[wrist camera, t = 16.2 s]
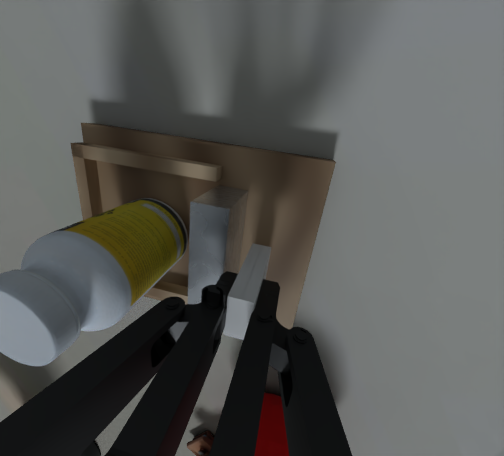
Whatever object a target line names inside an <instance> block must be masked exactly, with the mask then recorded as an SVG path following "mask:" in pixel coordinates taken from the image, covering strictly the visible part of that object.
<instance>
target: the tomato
mask: <svg viewBox="0 0 504 456" xmlns="http://www.w3.org/2000/svg"><path fill="white" fill-rule="evenodd" d="M254 456H289V450H288V443H287V436H286V428H285V421H284V414H283V407H282V400H281V396H278V395H275V394H271V393H264V398H263V404H262V411H261V417H260V423H259V430H258V436H257V443H256V449H255V455H254Z"/></svg>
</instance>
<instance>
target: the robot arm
mask: <svg viewBox="0 0 504 456" xmlns="http://www.w3.org/2000/svg"><path fill="white" fill-rule="evenodd" d="M270 252H271V247H268V246H263V245H258V244H254V243H253V244H252V246H251V248H250V250H249V252H248V254H247V256H246V258H245V261H244V263H243V265H242V267H241V269H240V271H239V273H238V274H237V273H233V272H229V271H226V272H225V273H223V274H221V276H220V278H219V280H218V281H217V283H216V285H208V286H205V287H204V288H203V289H202V294H201V303H198V304H185V301H184V300H183V299H182V298H180V297H168V298H165V299H164V300H162V301H161V302H159V303H158V304H157V305H155V306H154V307H153V308H151V309H150V310H149V311H147V312H146V313H145V314H143V315H142V316H141V317H139V318H138V319H137V320H136V321H134V322H133V323H132V324H130V325H129V326H128V327H126V328H125V329H124V330H122V331H121V332H120V333H118V334H117V335H116V336H114V337H113V338H112V339H110V340H109V341H108V342H106V343H105V344H104V345H102V346H101V347H100V348H98V349H97V350H96V351H94V352H93V353H92V354H90V355H89V356H88V357H86V358H85V359H84V360H82V361H81V362H80V363H78V364H77V365H76V366H74V367H73V368H72V369H70V370H69V371H68V372H67V373H65V374H64V375H63V376H61V377H60V378H59V379H57V380H56V381H55V382H53V383H52V384H51V385H49V386H48V387H47V388H45V389H44V390H43V391H41V392H40V393H39V394H37V395H36V396H35V397H33V398H32V399H31V400H29V401H28V402H27V403H25V404H24V405H23V406H21V407H20V408H19V409H17V410H16V411H15V412H13V413H12V414H11V415H9V416H8V417H7V418H5V419H4V420H3V421H1V422H0V456H100V452H99V450H98V448H97V446H96V445H95V443H94V442H93V441H94V440H95V439H96V438H97V436H98V435H99V434H100V433H101V432H102V431H103V430H104V429H105V428H106V427H107V426H108V425H109V424H110V422H111V421H112V420H113V419H114V418H115V417H116V416H117V415H118V414H119V413H120V412H121V411H122V410H123V409H124V407H125V406H126V405H127V404H128V403H129V402H130V401H131V400H132V399H133V398H134V397H135V396H136V395H137V393H138V392H139V391H140V390H141V389H142V388H143V387H144V386H145V385H146V384H147V383H148V382H149V381H150V379H151V378H152V377H153V376H154V375H155V374H156V373H157V374H156V376H155V377H154V379H153V380H152V382H151V384H150V385H149V387H148V389H147V390H146V392H145V393H144V395H143V397H142V398H141V400H140V402H139V403H138V405H137V406H136V408H135V410H134V411H133V413H132V414H131V416H130V418H129V419H128V421H127V423H126V424H125V426H124V427H123V429H122V431H121V432H120V434H119V436H118V437H117V439H116V440H115V442H114V444H113V445H112V447H111V448H110V450H109V451H108V452H107V454H106V455H105V456H175V454H176V452H177V449H178V447H179V444H180V442H181V439H182V437H183V434H184V432H185V429H186V427H187V424H188V422H189V419H190V417H191V414H192V412H193V409H194V407H195V404H196V402H197V399H198V397H199V394H200V392H201V389H202V387H203V384H204V382H205V379H206V377H207V374H208V372H209V370H210V367H211V365H212V362H213V360H214V357H215V355H216V352H217V350H218V347H219V345H220V341H221V335H222V332H223V330H224V333H223V335H226V336H230V337H234V338H237V339H241V340H243V343H242V347H241V350H240V353H239V357H238V360H237V363H236V367H235V370H234V373H233V377H232V380H231V384H230V387H229V390H228V394H227V397H226V400H225V404H224V407H223V410H222V414H221V417H220V420H219V424H218V427H217V430H216V434H215V437H214V440H213V444H212V447H211V451H210V454H209V456H254V455H255V449H256V443H257V436H258V430H259V423H260V417H261V411H262V404H263V398H264V392H265V385H266V379H267V372H268V366H269V365H270V366H271V367H273V368H274V369H276V370H278V378H279V385H280V392H281V400H282V407H283V414H284V421H285V428H286V436H287V443H288V450H289V456H352V454H351V451H350V448H349V445H348V441H347V438H346V435H345V432H344V429H343V426H342V423H341V420H340V417H339V414H338V411H337V408H336V405H335V402H334V399H333V396H332V393H331V390H330V387H329V384H328V381H327V378H326V375H325V372H324V369H323V366H322V363H321V360H320V357H319V353H318V350H317V347H316V344H315V341H314V338H313V337H312V335H311V334H310V333H309V332H308V331H307V330H305V329H303V328H300V327H293V328H291V329H287V328H285V327H284V326H282V325H281V324H280V323H279V322H278V320H277V318H276V312H277V305H278V299H279V292H280V286H279V284H278V282H274V281H270V280H266V274H267V268H268V263H269V258H270Z"/></svg>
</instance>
